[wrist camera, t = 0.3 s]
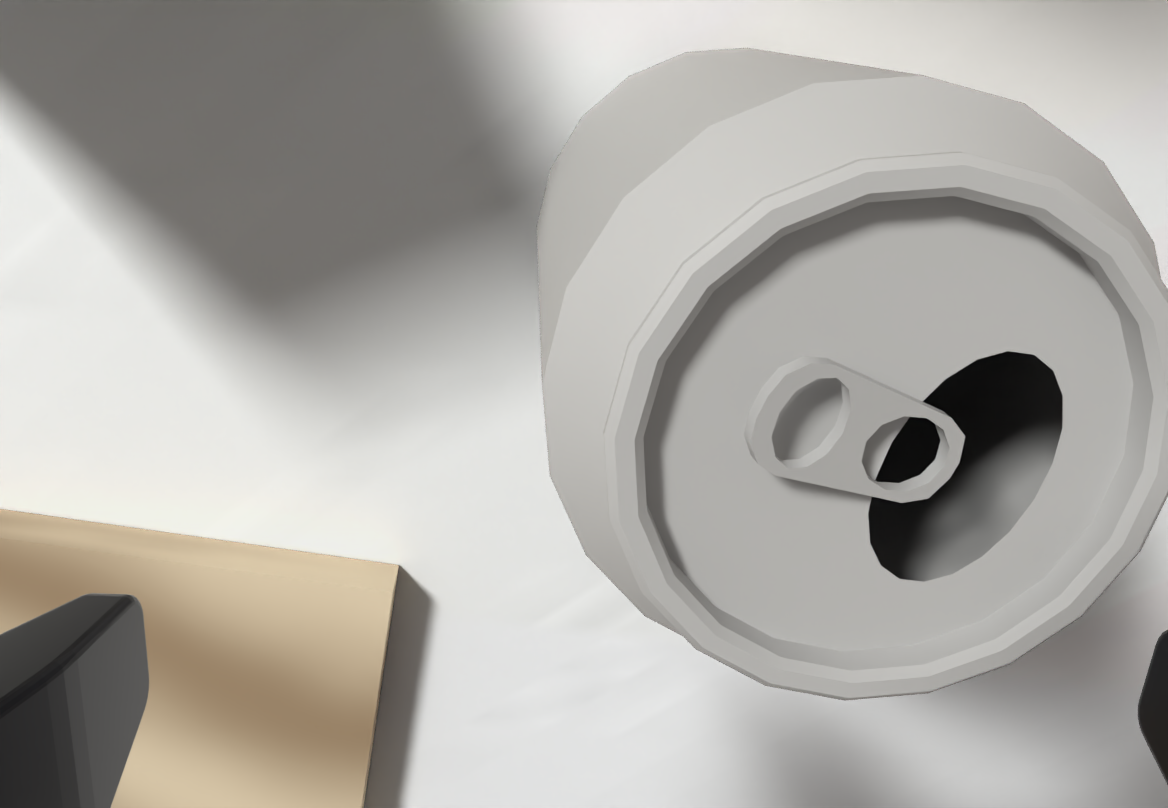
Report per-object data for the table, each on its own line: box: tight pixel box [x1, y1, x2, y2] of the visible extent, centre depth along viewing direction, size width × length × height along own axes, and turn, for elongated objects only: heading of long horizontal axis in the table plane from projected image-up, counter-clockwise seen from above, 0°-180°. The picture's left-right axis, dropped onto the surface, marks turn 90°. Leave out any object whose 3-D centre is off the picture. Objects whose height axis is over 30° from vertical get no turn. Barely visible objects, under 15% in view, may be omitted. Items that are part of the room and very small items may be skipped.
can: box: [537, 48, 1168, 700], centre depth 16 cm, size 8×8×12 cm
